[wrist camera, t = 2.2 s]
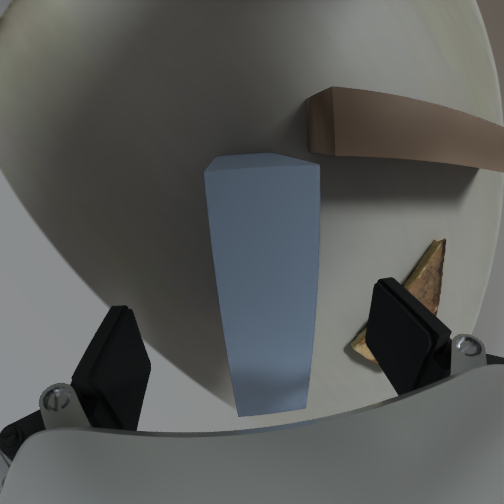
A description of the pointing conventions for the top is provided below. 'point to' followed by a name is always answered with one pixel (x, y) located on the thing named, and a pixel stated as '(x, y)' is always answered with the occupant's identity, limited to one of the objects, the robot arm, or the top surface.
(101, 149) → the top surface
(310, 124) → the bar
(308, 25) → the top surface
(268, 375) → the block
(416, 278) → the shard
